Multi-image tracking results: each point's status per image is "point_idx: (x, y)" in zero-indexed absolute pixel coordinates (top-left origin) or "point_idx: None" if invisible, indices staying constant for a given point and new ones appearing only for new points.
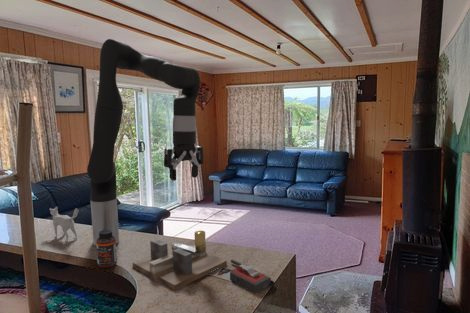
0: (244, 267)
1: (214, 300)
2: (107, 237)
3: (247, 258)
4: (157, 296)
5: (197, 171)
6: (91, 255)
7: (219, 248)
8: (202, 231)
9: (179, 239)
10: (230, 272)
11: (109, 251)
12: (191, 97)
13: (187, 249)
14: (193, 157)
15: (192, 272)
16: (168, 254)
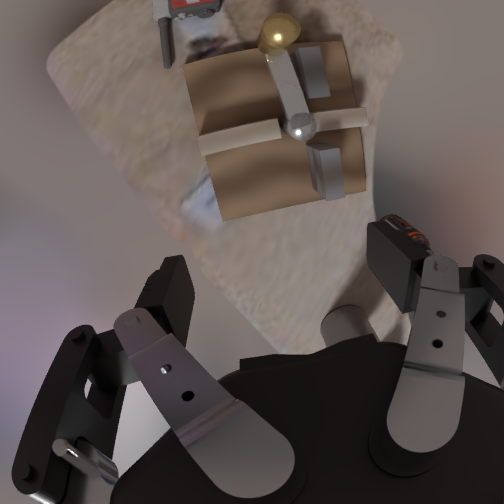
0: None
1: None
2: (422, 245)
3: (123, 76)
4: (371, 49)
5: (148, 289)
6: None
7: (147, 162)
8: (269, 29)
9: (210, 267)
10: (219, 2)
11: (407, 226)
12: None
13: (294, 75)
14: (183, 379)
15: None
16: (286, 180)
